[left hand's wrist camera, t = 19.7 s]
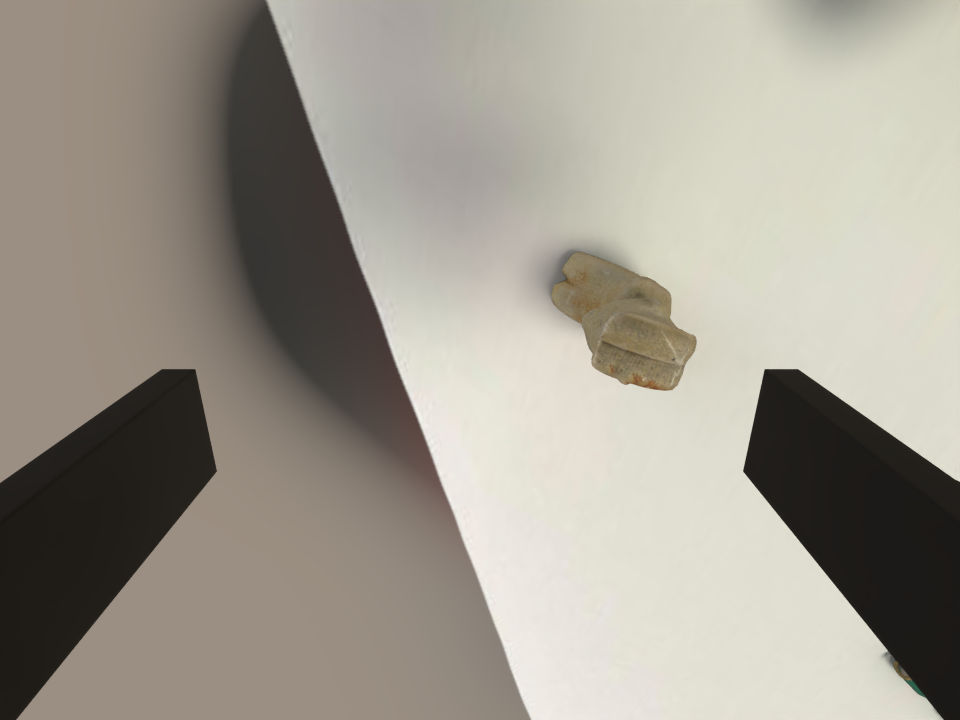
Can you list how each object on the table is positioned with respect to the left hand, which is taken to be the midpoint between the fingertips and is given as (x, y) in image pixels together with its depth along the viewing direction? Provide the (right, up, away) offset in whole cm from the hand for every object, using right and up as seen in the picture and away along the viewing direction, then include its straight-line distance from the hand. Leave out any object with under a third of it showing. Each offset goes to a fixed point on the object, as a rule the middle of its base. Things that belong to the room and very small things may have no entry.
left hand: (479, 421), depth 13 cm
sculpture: (+9, +7, +29) cm, 31 cm away
